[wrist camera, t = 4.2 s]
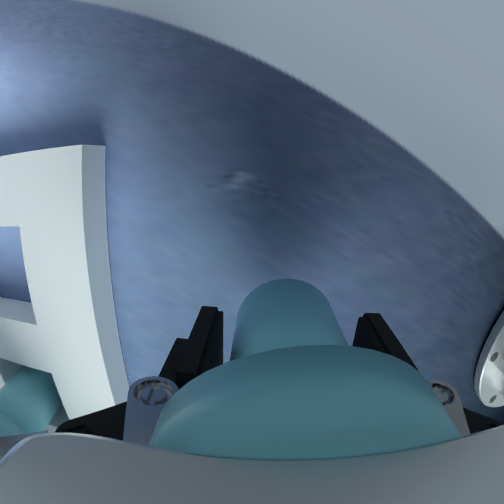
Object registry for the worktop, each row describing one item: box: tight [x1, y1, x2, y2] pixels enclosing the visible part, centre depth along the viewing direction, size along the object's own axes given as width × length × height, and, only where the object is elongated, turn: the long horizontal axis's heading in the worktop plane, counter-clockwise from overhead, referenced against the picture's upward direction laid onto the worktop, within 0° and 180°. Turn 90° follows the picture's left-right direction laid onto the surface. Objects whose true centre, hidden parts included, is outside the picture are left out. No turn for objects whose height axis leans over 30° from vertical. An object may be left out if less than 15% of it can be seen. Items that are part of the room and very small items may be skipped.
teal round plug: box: [148, 279, 462, 460], centre depth 8 cm, size 7×7×9 cm
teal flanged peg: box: [0, 365, 62, 437], centre depth 14 cm, size 7×7×9 cm
